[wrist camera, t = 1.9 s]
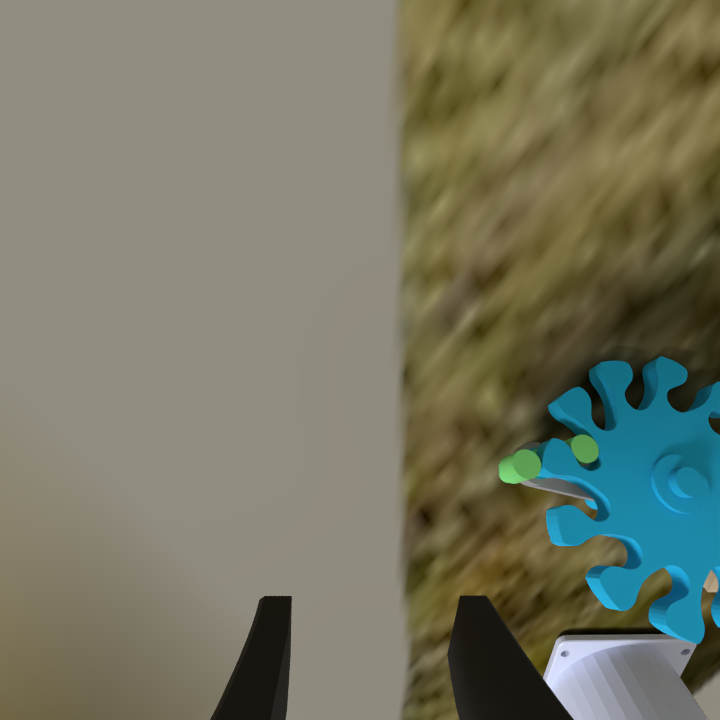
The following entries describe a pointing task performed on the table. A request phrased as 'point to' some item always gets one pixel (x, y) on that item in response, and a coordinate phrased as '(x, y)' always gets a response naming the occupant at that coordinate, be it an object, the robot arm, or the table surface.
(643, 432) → the gear
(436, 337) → the table surface
